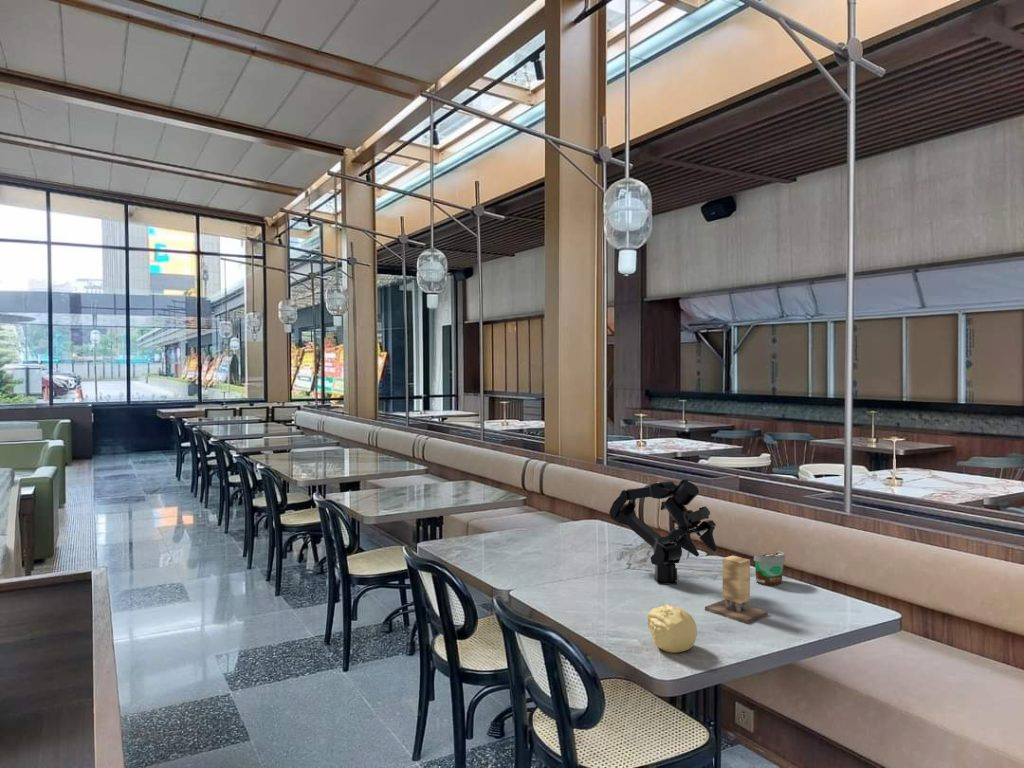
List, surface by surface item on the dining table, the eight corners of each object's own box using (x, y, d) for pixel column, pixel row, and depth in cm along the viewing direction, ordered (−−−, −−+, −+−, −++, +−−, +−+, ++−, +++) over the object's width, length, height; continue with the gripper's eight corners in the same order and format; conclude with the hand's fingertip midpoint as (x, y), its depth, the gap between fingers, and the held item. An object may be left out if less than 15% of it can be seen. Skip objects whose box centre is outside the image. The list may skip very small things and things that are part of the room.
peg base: (704, 610, 199) (704, 596, 199) (726, 602, 206) (726, 589, 206) (746, 623, 188) (746, 609, 188) (767, 615, 195) (767, 601, 195)
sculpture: (640, 643, 175) (640, 602, 174) (676, 635, 180) (677, 596, 179) (668, 660, 164) (668, 617, 164) (705, 651, 169) (706, 610, 169)
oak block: (722, 598, 198) (722, 558, 198) (732, 594, 201) (732, 555, 201) (740, 603, 193) (740, 562, 193) (749, 600, 196) (750, 559, 196)
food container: (767, 589, 218) (768, 559, 218) (753, 583, 224) (753, 554, 224) (793, 583, 224) (793, 554, 224) (778, 578, 230) (778, 550, 229)
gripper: (675, 502, 210) (704, 544, 202) (711, 495, 222) (739, 535, 213) (655, 522, 217) (682, 563, 208) (691, 514, 228) (718, 553, 220)
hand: (707, 553), depth 212 cm, fingers open, 9 cm apart
